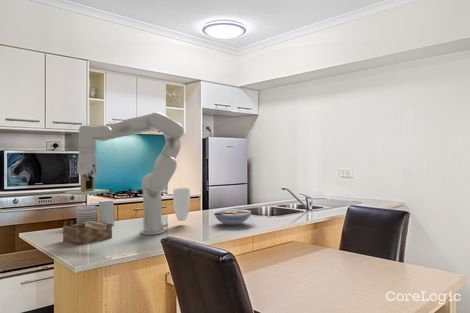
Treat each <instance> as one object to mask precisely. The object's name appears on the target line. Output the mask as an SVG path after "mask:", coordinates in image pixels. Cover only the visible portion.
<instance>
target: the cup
mask: <svg viewBox="0 0 470 313" xmlns="http://www.w3.org/2000/svg"><path fill="white" fill-rule="evenodd" d="M172 190H173V192H172V193H173V195H172V197H173V198H172V199H173V202H172V203H173V209H174V213H175V216H176V219H177V221H180V222H181V221H182V222H184V221H186V220H187V218H188V215H189V211H190V208H191V189H190V187H176V188H173V189H172Z"/></svg>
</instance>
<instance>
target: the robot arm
mask: <svg viewBox="0 0 470 313" xmlns="http://www.w3.org/2000/svg"><path fill="white" fill-rule="evenodd" d="M153 130H158V131H160V132H161V133H162V135H163V137H164V139H165V142H164V143H165V144H164V146H163V148H162V150H161V152H160V153H159V154H158V156H157V158H156V160H155V161H154V164H153V167H154V171H153V172H150V173H147V174H146V175H144V176H143V178H142V183H141V187H142V199H143V200H142V201H143V202H142V203H143V204H142V205H143V206H142V208H143V210H142V213H143V214H142V218H143V220H142V223H143V224H142V226H143V227H142V229H141V230H139V233H140V234H141V235H145V236H146V235H147V236H149V235H150V236H153V235H160V234H163V233H165V232H166V231H165V229H164V228H165V227H167V228H168V226H169V223H168V222H165V223H164V222H162V211H163V210H162V202H163V201H162V199H163V198H162V191H164V190H165V188H166V187H167V186H168V184H169V183H170V181H171V179H172V178H173V176H174V174H175V172H176V170H177V167H178V166H177V165H178V163H177V160H176V158H177V157H178V155H179V152H180V150H181V145H182V144H181V138H182V137H183V136H184V133H185V130H184V126H182V124H181V123H179V122H177V121H175V120H174V119H172V118H170V117H168V116H167V115H166V114H163V113H161V112H158V111H155V112H152V113H149V114H144V115H139V116H135V117H131V118H128V119H127V118H126V119H125V120H122V121H120V122H115V123H112V124H108V125H96V126H94V125H81V126H79V128H78V156H77V166H76V168H77V170H76V171H77V174H78V175H79V176H80V178H81V177H87V181H86V189H92V188H93V178H94V179H95V177H96V176H97V172H98V165H97V164H98V163H97V154H96V153H97V152H96V150H97V149H96V148H97V147H96V142H97V141H98V142H106V141H111V140H113V139H118V138H123V137H129V136H133V135H139V134H141V133H145V132H150V131H153Z"/></svg>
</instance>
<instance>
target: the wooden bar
mask: <svg viewBox="0 0 470 313" xmlns="http://www.w3.org/2000/svg"><path fill="white" fill-rule="evenodd" d="M85 227H90V228H95V229H100V230H106V224H103V223H97V222H92V221H85Z"/></svg>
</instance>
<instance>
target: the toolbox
mask: <svg viewBox="0 0 470 313" xmlns="http://www.w3.org/2000/svg"><path fill="white" fill-rule="evenodd" d="M94 222H97V223H103V224H106V230H100V229H95V228H90V227H85V223H82V224H77V223H76V224H74V220H70V225H68V221H63V226H62V242H65V243H68V244H71V245H72V244H73V245H75V246H80V245H85V244H88V243H89V244H90V243H94V242H98V241H103V240H108V239H112V238H113V225H112V224H110V223H105V222H100V220H98V221H94Z"/></svg>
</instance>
